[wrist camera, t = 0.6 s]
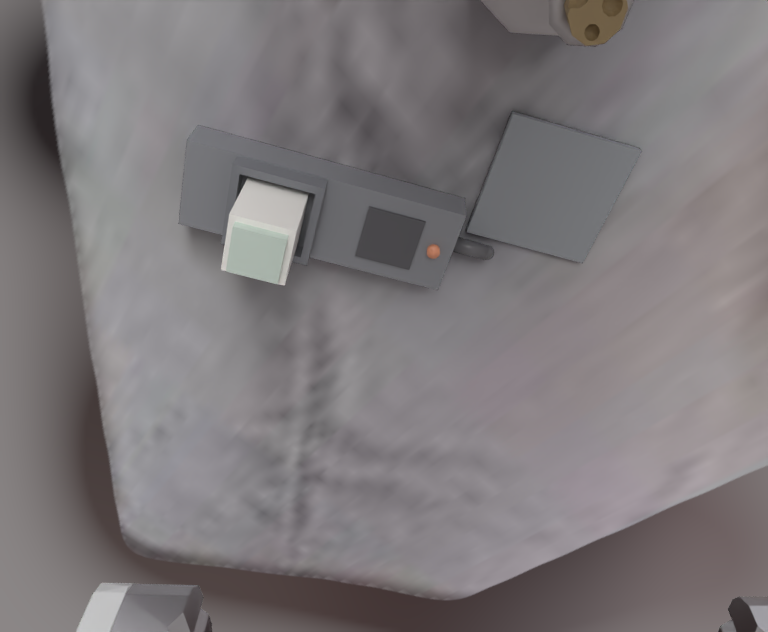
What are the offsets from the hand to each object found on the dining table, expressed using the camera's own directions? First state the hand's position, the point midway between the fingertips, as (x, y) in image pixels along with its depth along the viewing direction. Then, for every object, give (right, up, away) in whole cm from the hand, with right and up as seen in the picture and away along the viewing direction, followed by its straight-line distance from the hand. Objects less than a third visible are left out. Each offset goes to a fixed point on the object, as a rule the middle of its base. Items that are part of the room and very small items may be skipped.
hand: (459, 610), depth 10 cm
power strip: (-4, +13, +43) cm, 45 cm away
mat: (+12, +14, +41) cm, 45 cm away
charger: (-9, +13, +40) cm, 43 cm away
